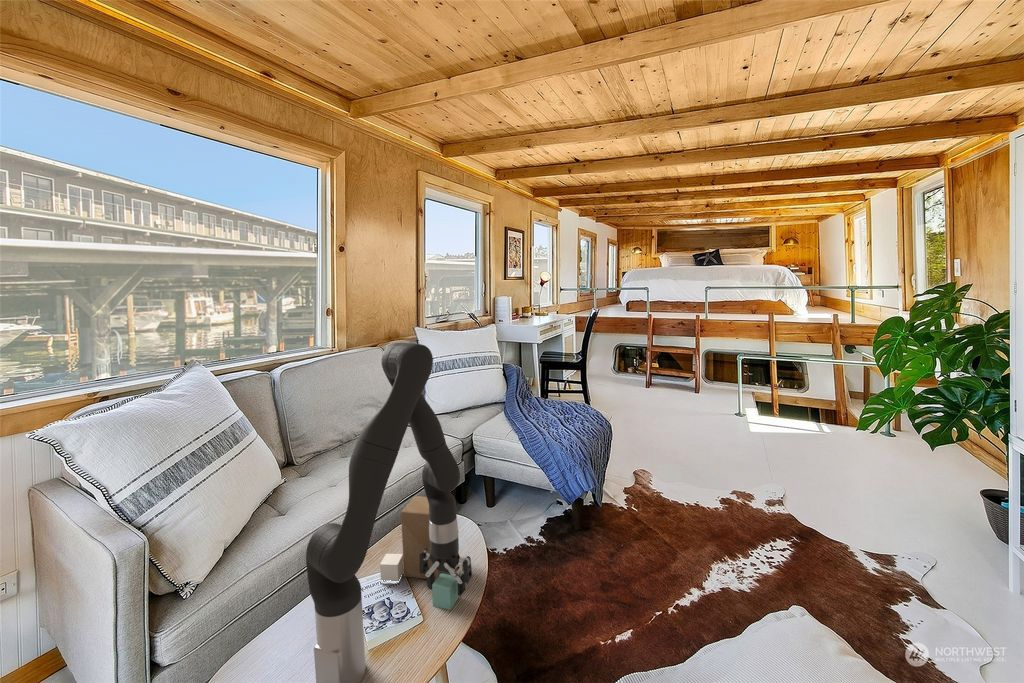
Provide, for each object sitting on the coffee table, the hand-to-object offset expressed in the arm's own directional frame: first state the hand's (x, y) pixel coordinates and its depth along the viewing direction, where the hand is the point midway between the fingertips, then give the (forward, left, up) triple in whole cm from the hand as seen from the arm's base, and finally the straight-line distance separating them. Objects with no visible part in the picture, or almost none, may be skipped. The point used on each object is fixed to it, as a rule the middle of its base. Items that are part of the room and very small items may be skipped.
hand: (446, 590), depth 117 cm
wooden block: (+11, +12, -3) cm, 16 cm away
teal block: (0, 0, -3) cm, 3 cm away
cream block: (+4, +19, -3) cm, 20 cm away
